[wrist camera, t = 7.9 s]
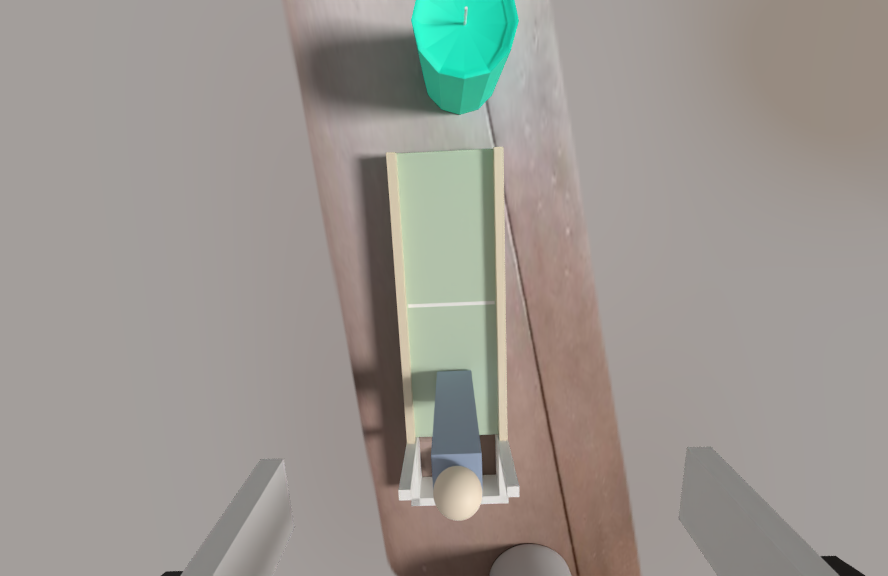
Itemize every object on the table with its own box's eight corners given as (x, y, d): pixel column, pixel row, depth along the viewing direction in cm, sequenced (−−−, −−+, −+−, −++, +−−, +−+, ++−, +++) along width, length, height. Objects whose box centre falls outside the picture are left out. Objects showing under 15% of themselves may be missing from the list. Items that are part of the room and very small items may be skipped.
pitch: (391, 156, 35) (385, 152, 32) (498, 151, 34) (503, 146, 31) (410, 425, 40) (407, 443, 37) (503, 422, 40) (507, 440, 37)
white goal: (409, 425, 40) (398, 490, 31) (503, 422, 40) (519, 486, 31) (413, 484, 41) (404, 561, 33) (504, 481, 41) (519, 558, 32)
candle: (409, 60, 33) (387, -16, 21) (474, 18, 32) (489, -85, 21) (446, 128, 34) (445, 92, 22) (510, 89, 33) (543, 31, 22)
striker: (437, 371, 36) (428, 487, 22) (471, 370, 36) (485, 485, 22) (438, 402, 37) (431, 535, 22) (472, 401, 37) (486, 533, 22)
